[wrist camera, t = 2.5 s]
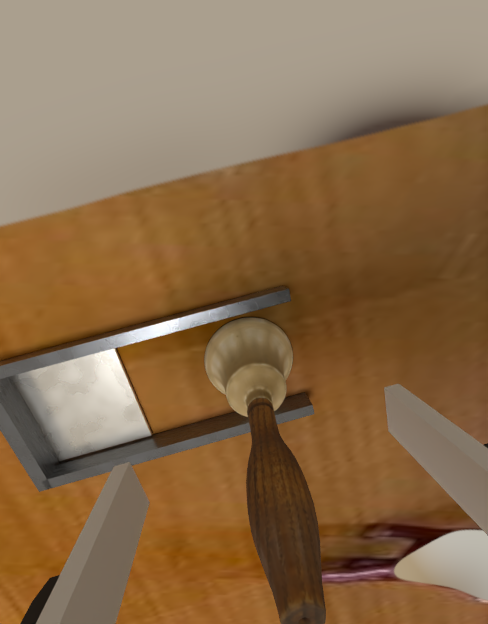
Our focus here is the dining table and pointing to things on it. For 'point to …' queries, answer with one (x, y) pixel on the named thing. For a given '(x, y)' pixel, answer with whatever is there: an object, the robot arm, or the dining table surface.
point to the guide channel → (108, 401)
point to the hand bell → (271, 465)
